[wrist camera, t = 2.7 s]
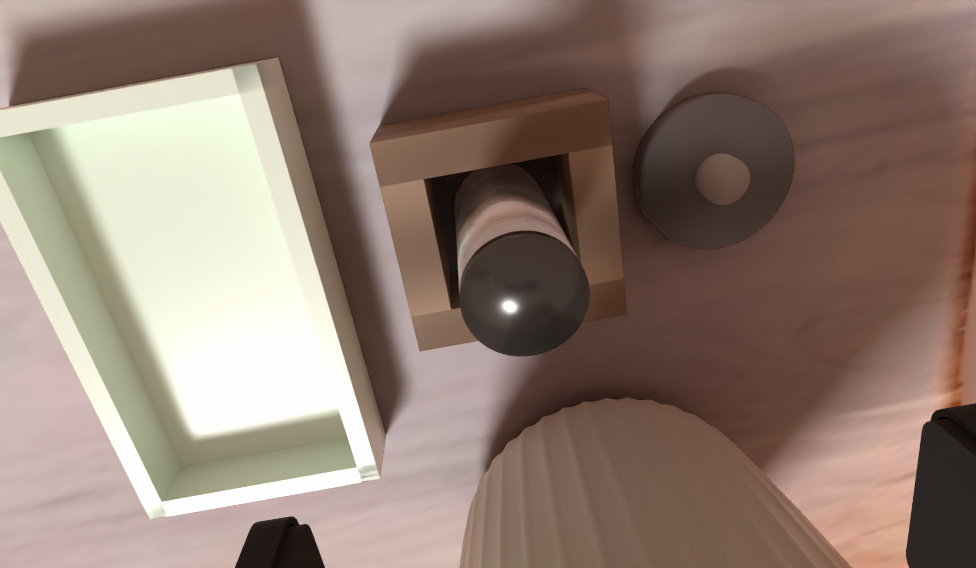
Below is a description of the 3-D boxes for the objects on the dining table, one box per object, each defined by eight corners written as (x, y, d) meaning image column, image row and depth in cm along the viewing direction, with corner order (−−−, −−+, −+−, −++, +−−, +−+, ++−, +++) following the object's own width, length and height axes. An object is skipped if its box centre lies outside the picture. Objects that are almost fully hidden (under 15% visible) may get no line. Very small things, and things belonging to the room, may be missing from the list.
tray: (8, 106, 23) (-52, 119, 20) (278, 57, 23) (256, 64, 20) (176, 472, 30) (150, 519, 27) (385, 435, 30) (380, 478, 27)
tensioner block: (379, 125, 24) (369, 143, 21) (781, 52, 24) (833, 59, 21) (422, 311, 27) (419, 351, 24) (777, 247, 27) (822, 279, 24)
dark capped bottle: (447, 171, 25) (448, 250, 17) (536, 155, 25) (582, 226, 17) (463, 255, 26) (472, 366, 18) (548, 239, 26) (596, 344, 18)
